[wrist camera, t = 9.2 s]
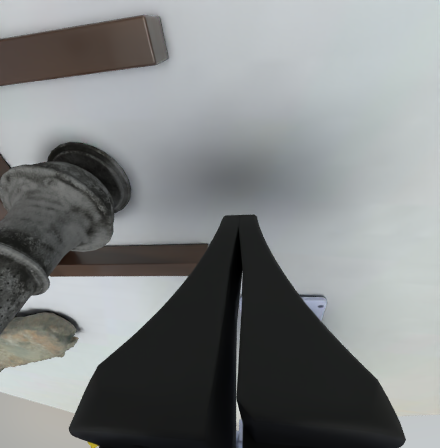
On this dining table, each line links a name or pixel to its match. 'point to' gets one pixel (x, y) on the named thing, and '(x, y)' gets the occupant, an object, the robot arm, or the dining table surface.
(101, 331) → the dining table surface
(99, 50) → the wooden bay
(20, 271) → the salt shaker
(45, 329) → the elongated rock
